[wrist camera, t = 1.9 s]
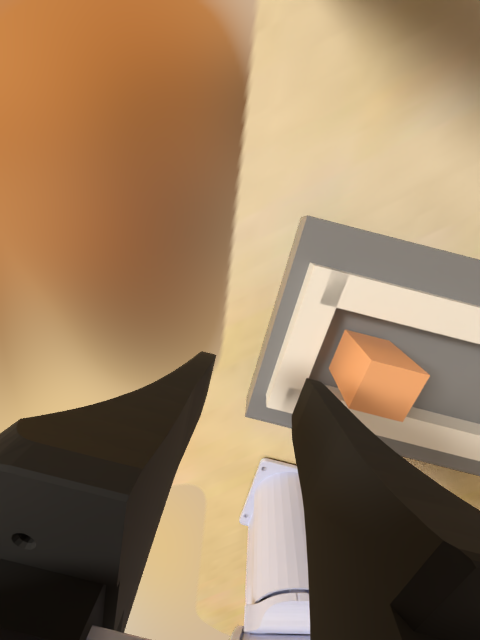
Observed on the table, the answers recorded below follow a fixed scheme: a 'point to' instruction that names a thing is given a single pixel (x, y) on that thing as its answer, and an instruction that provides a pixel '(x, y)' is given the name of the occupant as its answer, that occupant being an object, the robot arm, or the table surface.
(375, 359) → the breaker lever
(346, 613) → the robot arm
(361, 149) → the table surface
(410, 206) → the table surface
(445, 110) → the table surface
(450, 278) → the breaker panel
